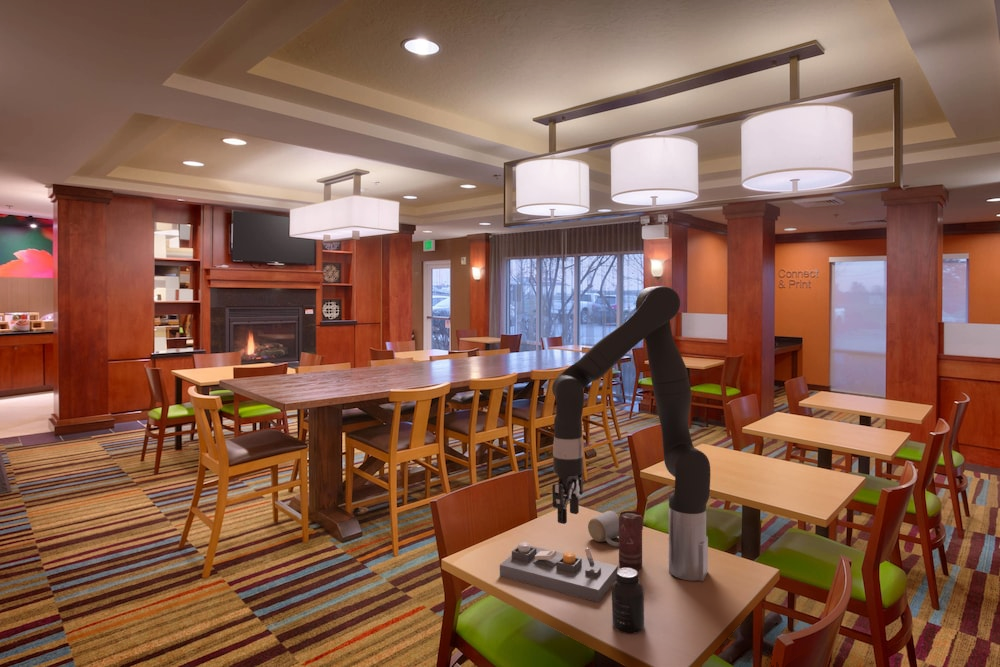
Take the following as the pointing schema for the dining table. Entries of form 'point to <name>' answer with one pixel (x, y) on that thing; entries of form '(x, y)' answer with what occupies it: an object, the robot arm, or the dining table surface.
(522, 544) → the grey button
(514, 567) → the control panel
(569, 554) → the orange button
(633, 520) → the can
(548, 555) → the rocker switch
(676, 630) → the dining table surface
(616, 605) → the supplement bottle
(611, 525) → the ceramic mug
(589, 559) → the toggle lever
